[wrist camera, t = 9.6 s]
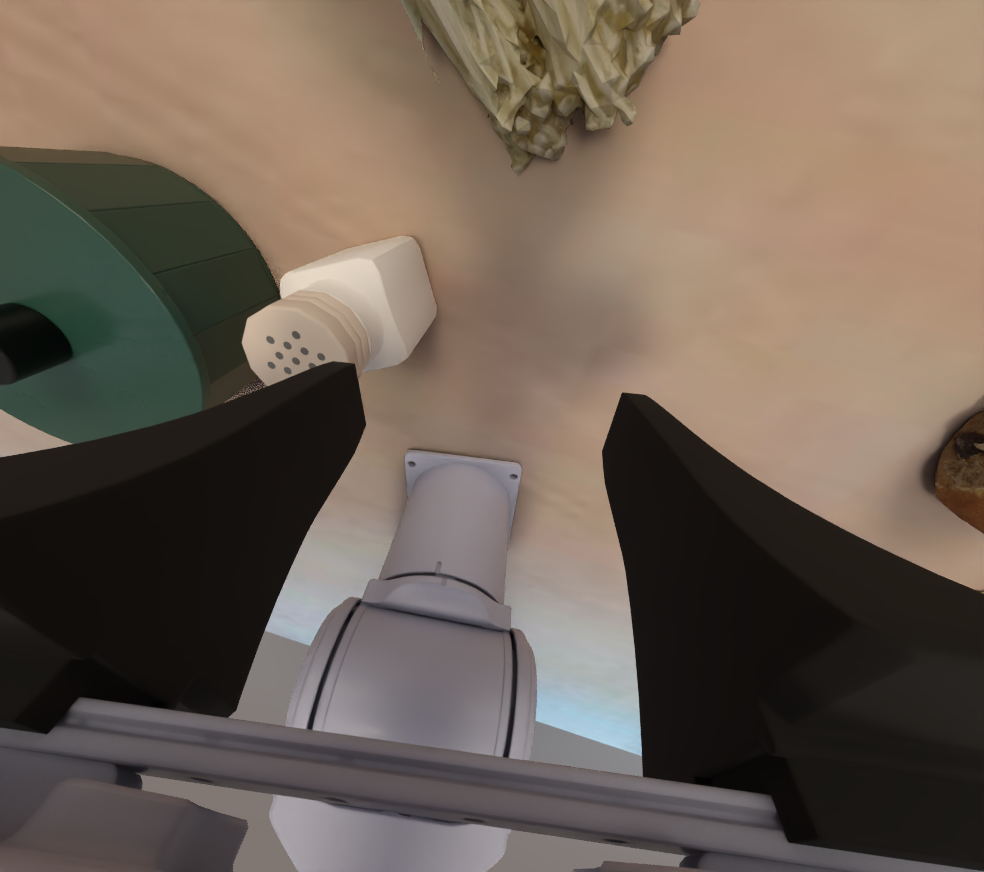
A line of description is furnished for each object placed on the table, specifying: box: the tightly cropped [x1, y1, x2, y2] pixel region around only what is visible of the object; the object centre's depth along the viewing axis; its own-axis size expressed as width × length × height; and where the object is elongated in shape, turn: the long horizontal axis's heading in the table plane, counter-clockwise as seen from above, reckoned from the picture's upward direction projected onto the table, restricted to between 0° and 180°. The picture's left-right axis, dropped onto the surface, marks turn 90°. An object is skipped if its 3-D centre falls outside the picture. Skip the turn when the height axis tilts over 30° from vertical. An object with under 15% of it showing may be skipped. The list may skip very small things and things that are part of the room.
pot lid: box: [0, 155, 211, 444], centre depth 14 cm, size 12×12×3 cm
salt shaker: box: [242, 235, 437, 386], centre depth 14 cm, size 4×4×10 cm
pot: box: [0, 146, 280, 408], centre depth 17 cm, size 11×11×6 cm
